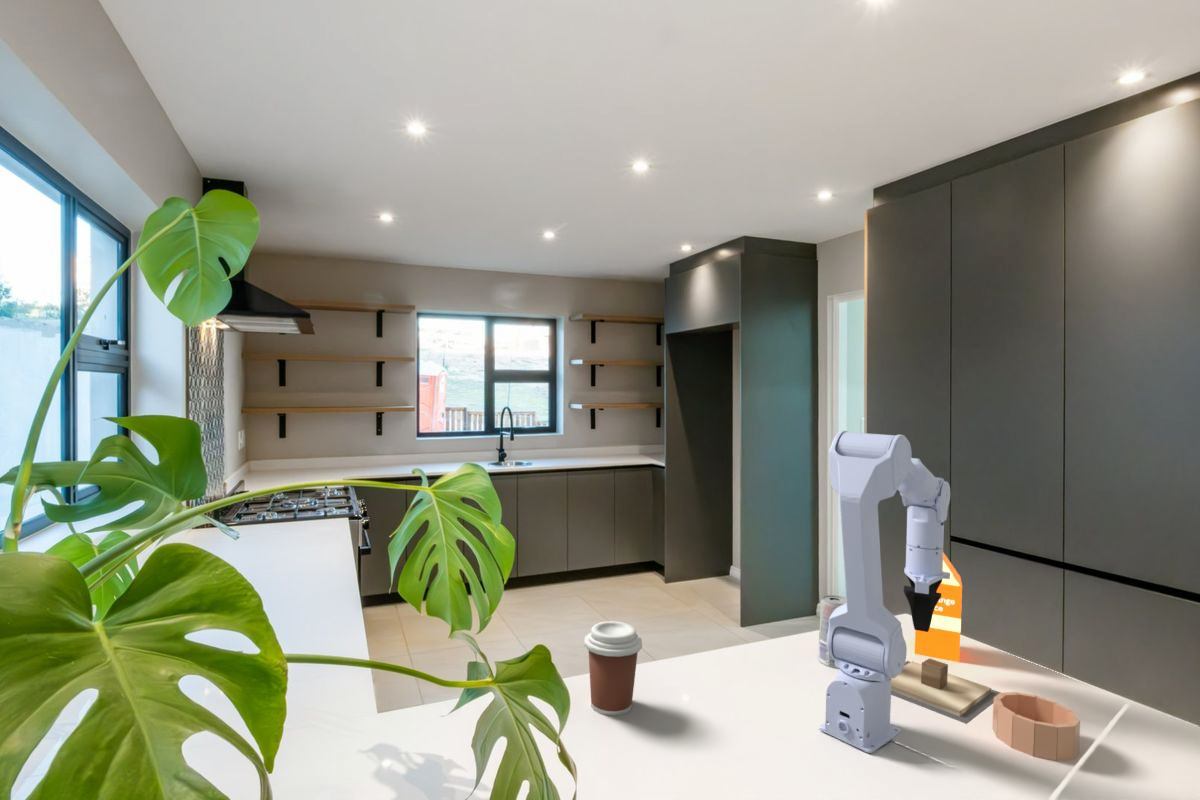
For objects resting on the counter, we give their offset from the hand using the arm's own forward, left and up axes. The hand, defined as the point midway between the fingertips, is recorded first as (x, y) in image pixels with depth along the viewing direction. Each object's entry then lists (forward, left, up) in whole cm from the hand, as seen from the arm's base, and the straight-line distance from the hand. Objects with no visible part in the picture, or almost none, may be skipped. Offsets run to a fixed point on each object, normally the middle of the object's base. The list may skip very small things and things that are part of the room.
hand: (922, 622), depth 111 cm
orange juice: (+16, +4, -11) cm, 20 cm away
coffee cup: (-49, +26, -11) cm, 56 cm away
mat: (-2, -3, -10) cm, 11 cm away
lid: (-2, -3, -10) cm, 11 cm away
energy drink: (-6, +13, -11) cm, 18 cm away
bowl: (-7, -19, -10) cm, 23 cm away
